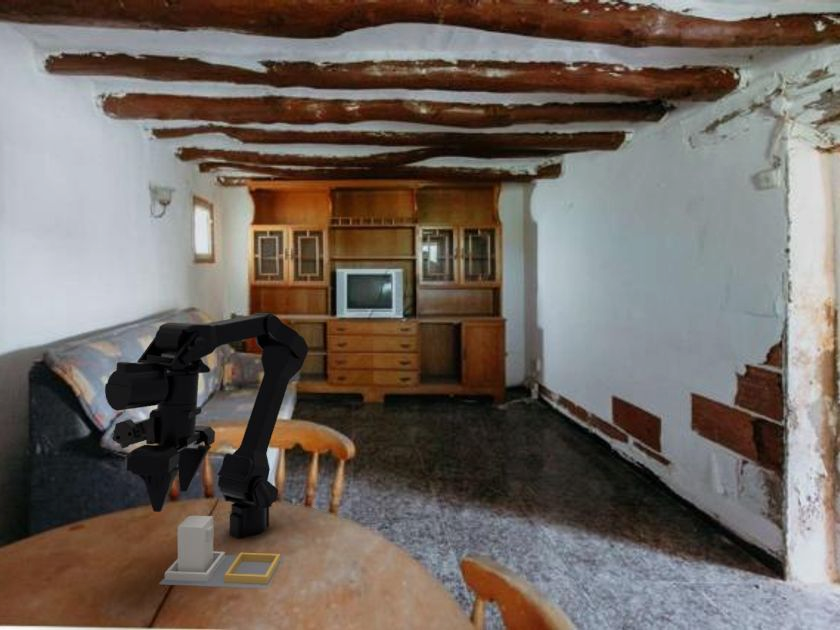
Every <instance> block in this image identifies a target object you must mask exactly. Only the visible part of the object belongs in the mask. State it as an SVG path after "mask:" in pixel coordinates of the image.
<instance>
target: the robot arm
mask: <svg viewBox="0 0 840 630" xmlns="http://www.w3.org/2000/svg"><path fill="white" fill-rule="evenodd" d="M249 339H254V341H255V344H256V345H257V346H258V348H260V350H262V352H261V358H260V360H261V365H262V366H261V367H262V369H263V377H262V379H261V382H260V386H259V389H258V392H257V395H256V399H255V401H254V404H253V406H252V408H251V409H252V410H251V413H250V416H249V418H248V422H247V425H246V428H245V430H244V434H243V436H242V440H241V443H240V445H239V447H238V448H237V449H236V450H235V451H234V452H233V453H232V454H231V453H228V452H227V453H225V455H224V456H223V459H222V460H223V461H222V464H221V467H220V468H219V471H218V473H217V476H219V477H218V480H217V487H218V488H219V491H220V493H221V494H222V496H223V499H224V501H225V502H230V503H231V513H229V536H231V537H233V538H235V539H238V540H240V539H245V538H246V537H247V538H249V537H255V536H258V535H261V534H263V533H264V532H265V531H266V530H267V528H268V527H270V508H271V507H273V504H274V503H276V501H277V498H278V493H279V489H278V488H277V487H276V486H274V485H273V484H272V483H271V482H270V481H269V476H270V471H271V468H270V463H269V460H268V455H267V453H268V450H269V446H270V443H271V438H272V436H273V433H274V430H275V426H276V424H277V420H278V417H279V414H280V410H281V408H282V404H283V401H284V397H285V394H286V391H287V388H288V386H289V381H290V380H291V379H292V378H294V376H295V375H297V374H298V373H299V371H300V370H301V369H302V367H303V364H304V363H305V360H306V358H307V356H308V351H309V346H308V344H307V342H306V341H305V338H304V337H303V336H302V335H300V334H299V333H298V331H296V330H294V328H292V327H290V326H288V325H287V324H286V323H284V322H282V321H281V319H280V318H279V317H278V316H277V315H275V314H273V313H266V312H254V313H251V314H249V315H244V316H239V317H234V318H229V319H228V318H227V319H223V320H217V321H212V322H208V323H206V322H205V323H199V322H198V323H196V322H173V321H172V322H171V321H170V322H169V321H168V322H166V323H163V324H161V325H160V326H159V327H158V330H157V331H156V333H155V335H154V338H153V340H152V341H151V342H150V343H149V345H148V346H147V347H146V349H145V350H144V352H143V353H142V354H141V356H140V357H139V358H138V359H137V362H130V361H118V362H117V363H116V370H115V371H113V372H111V374H110V376H109V378H108V379H107V382H106V383H105V387H104V394H105V399H106V402H107V404H108V405H109V407H110V408H111V409H113V410H114V411H124V410H132V409H139V408H146V407H153V406H157V408H153V409H152V410H151V411H150V412H149V416H148V417H149V418H146V419H142V420H139V421H135V422H134V420H132V419H126V420H123V421H119V422H117V423H115V424H114V429H113V430H112V432H113V436H112V440H113V442H116V443H117V444H118V445H120V449H126V448H128V447H129V446H131V445H135V444H138V443H142V442H145V444H142V445H140V446H139V447H135V449H133V450H131V451H130V452H129V453H127V454H126V456H125V459H124V470H125V471H128V472H130V474H131V475H137V476H138V477H139V478H141V480H142V481H143V482H144V485H145V488H146V491H147V495H148V498H149V501H150V505H151V507H152V511H153V512H156V513H160V512H162V510H163V509H164V507H165V505H166V502H167V499H168V496H169V494H170V491H171V489H172V487H173V484H174V481H175V479H176V476H177V474H178V482H179V483H178V484H179V491H180V492H188V491H189V488H190V486H191V485H192V482H193V480H194V479H195V477H196V475H197V473H198V471H199V469H200V468H201V466H202V464H203V462H204V460H205V458H206V456H207V454H208V453H209V451H210V449H211V448H212V444H214V443H215V441H216V440H215V438H216V436H215V435H216V431H215V429H213V428H212V427H211V426H210V425H209V426H207V425H196V423H197V416H198V415H200V414H202V406H198V396H199V395H198V393H199V380H200V379H199V377H200V374H207V373H210V372H211V368H210V367H209V366H208V365H207V364H205V362H204V361H203V360H202V359H203V358H205V357H207V356H210V355H211V354H212V353H214V352H215V350H216V349H218V348H219V347H221V346H225V345H229V344H234V343H236V342H240V341H245V340H249Z"/></svg>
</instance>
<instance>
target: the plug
mask: <svg viewBox="0 0 840 630" xmlns="http://www.w3.org/2000/svg"><path fill="white" fill-rule="evenodd" d="M214 527H215V525H214V516H213V515H188V516H187V517H186V518H184V520H183V521H182V522H181V523H180V524H178V526H177V559H178V571H180V572H205V573H206V572H207V570H208V569H209V568H210V567H211V565H212V564H213V551H214V537H215V532H214V531H215V530H214V529H215V528H214Z"/></svg>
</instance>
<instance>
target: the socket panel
mask: <svg viewBox="0 0 840 630" xmlns="http://www.w3.org/2000/svg"><path fill="white" fill-rule="evenodd" d="M284 559H285V557H281V553H261V552H239V554H238V555H231V554H230V555H229V554H228V555H227V554H226V552H225V551H215V550H213V564H212V565H211V567H210V568H209V569H208V570H207V572H206V573H205V572H180V571H178V558H177V559H176V560H175V561H174V562H173V563H172V565H170V566H169V567H168V568H167V570H166V571H165V572H164V578H162V580H161V581H160V582H159V583H158V585H164V586H165V585H167V586H169V585H170V586H192V587H216V588H217V587H218V588H236V589H238V588H240V589H241V588H242V589H243V588H244V589H260V590H261V589H264V590H265V589H267V590H268V588H269V587H270V585H271V583H272V581H273V579H274V578H275V576H276V574H277V572H278V570H279V569H280V567H281V565H282V563H283V561H284Z"/></svg>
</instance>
